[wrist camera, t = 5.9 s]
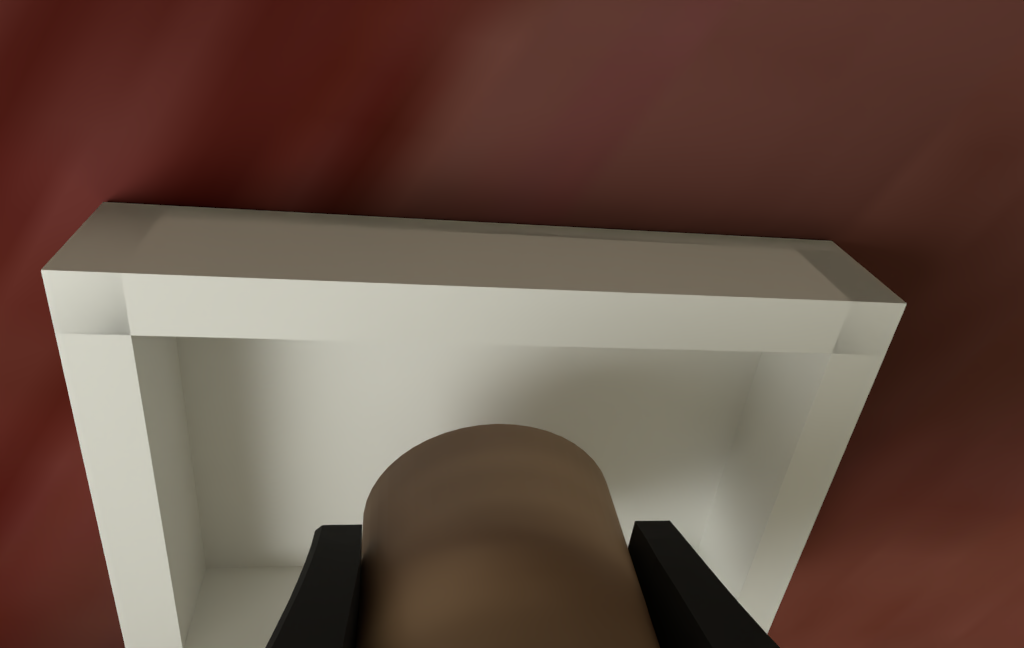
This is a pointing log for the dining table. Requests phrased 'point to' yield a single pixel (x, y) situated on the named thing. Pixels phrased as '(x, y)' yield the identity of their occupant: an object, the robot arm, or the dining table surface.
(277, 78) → the dining table surface
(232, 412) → the tray
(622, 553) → the cylinder
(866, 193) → the dining table surface
